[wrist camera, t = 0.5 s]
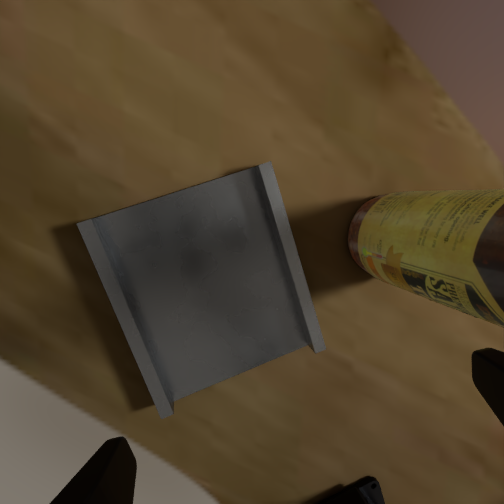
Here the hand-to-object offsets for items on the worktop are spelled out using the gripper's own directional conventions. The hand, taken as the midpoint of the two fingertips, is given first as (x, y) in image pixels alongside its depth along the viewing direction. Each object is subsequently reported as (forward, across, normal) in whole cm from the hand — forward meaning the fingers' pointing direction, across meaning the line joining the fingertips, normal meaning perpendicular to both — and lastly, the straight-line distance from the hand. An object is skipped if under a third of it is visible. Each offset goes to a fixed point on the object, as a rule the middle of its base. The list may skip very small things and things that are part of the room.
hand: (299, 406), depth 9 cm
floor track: (+14, +4, +2) cm, 15 cm away
